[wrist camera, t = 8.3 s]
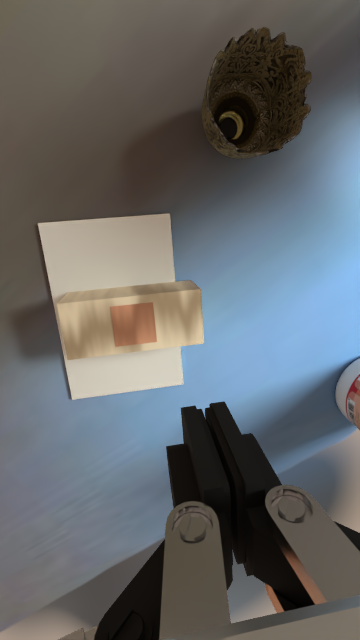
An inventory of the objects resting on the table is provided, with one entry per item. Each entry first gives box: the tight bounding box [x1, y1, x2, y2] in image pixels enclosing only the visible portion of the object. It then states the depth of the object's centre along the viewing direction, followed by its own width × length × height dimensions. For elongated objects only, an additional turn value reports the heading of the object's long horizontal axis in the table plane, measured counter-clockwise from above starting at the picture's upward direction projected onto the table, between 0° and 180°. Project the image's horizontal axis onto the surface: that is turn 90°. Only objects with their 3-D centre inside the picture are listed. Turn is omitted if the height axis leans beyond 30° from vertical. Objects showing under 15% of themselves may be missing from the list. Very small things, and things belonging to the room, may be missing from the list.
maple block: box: [57, 280, 204, 360], centre depth 30 cm, size 5×5×12 cm
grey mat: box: [38, 213, 183, 400], centre depth 32 cm, size 18×12×1 cm, turn 4°
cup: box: [202, 27, 311, 159], centre depth 25 cm, size 8×7×8 cm
